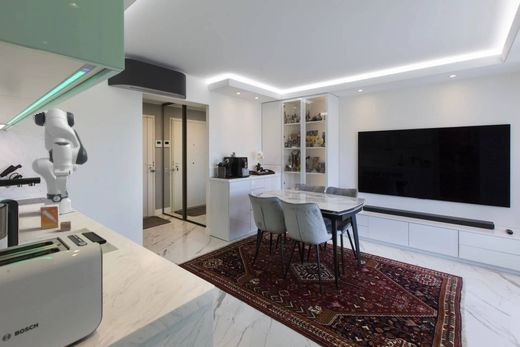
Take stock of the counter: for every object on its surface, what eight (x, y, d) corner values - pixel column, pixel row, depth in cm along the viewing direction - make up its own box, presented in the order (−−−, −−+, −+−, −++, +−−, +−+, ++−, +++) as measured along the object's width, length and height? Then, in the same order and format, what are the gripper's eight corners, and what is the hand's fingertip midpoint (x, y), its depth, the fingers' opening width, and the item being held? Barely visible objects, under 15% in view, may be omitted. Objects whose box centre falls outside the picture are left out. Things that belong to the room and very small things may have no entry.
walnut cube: (61, 229, 150) (61, 222, 150) (71, 228, 153) (70, 221, 152) (60, 232, 147) (60, 224, 146) (70, 230, 149) (70, 223, 149)
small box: (41, 229, 149) (39, 207, 148) (42, 226, 154) (41, 205, 153) (58, 227, 153) (57, 206, 152) (59, 224, 159) (58, 203, 157)
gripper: (58, 169, 153) (59, 193, 155) (53, 172, 136) (54, 199, 137) (71, 169, 157) (72, 192, 158) (68, 172, 139) (69, 198, 141)
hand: (64, 195), depth 148 cm, fingers open, 8 cm apart
